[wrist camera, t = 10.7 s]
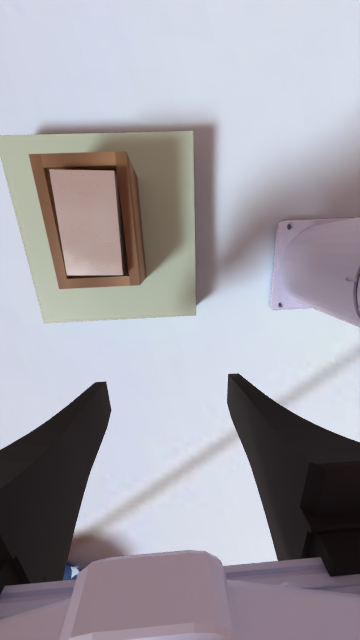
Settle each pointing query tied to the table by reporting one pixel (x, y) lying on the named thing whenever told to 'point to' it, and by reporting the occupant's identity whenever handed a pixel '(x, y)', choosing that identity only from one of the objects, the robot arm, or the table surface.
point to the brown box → (128, 207)
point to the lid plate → (90, 221)
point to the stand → (156, 215)
